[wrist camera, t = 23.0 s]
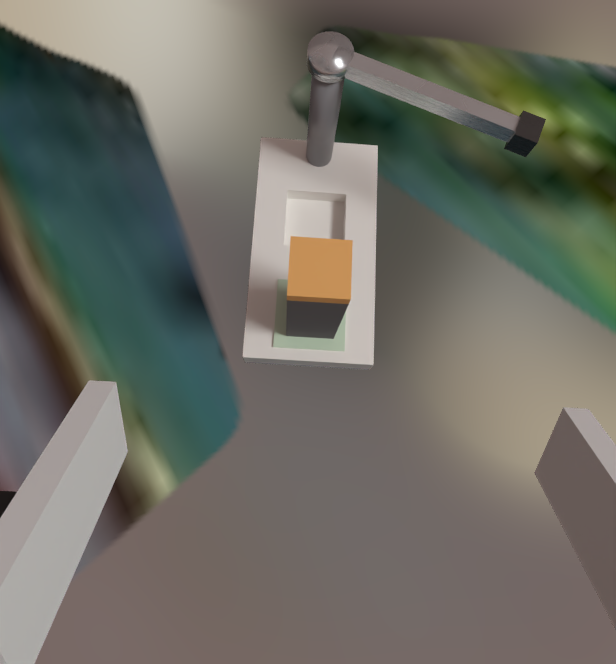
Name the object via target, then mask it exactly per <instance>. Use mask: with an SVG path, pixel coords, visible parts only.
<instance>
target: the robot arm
mask: <svg viewBox="0 0 616 664" xmlns="http://www.w3.org/2000/svg"><path fill="white" fill-rule="evenodd" d="M127 452H128V450H127V444H126V438H125V432H124V426H123V420H122V414H121V409H120V403H119V397H118V391H117V385H116V382H108V381H90V380H89V381H88V383H87V384H86V386H85V387H84V389H83V391H82V392H81V394H80V395H79V397H78V398H77V400H76V401H75V403H74V405H73V406H72V408H71V409H70V411H69V412H68V414H67V415H66V417H65V419H64V420H63V422H62V423H61V425H60V426H59V428H58V429H57V431H56V432H55V434H54V436H53V437H52V439H51V440H50V442H49V443H48V445H47V446H46V448H45V450H44V451H43V453H42V454H41V456H40V457H39V459H38V460H37V462H36V464H35V465H34V467H33V468H32V470H31V471H30V473H29V474H28V476H27V477H26V479H25V481H24V482H23V484H22V485H21V487H20V488H19V490H18V491H17V492H9V491H0V664H34V663H35V661H36V659H37V657H38V654H39V652H40V650H41V647H42V645H43V643H44V641H45V638H46V636H47V634H48V632H49V629H50V627H51V625H52V622H53V620H54V618H55V616H56V613H57V611H58V609H59V607H60V604H61V602H62V600H63V598H64V595H65V593H66V591H67V588H68V586H69V584H70V582H71V579H72V577H73V575H74V573H75V570H76V568H77V566H78V563H79V561H80V559H81V557H82V554H83V552H84V550H85V548H86V545H87V543H88V541H89V538H90V536H91V534H92V532H93V529H94V527H95V525H96V523H97V520H98V518H99V516H100V513H101V511H102V509H103V507H104V504H105V502H106V500H107V498H108V495H109V493H110V491H111V488H112V486H113V484H114V482H115V479H116V477H117V475H118V473H119V470H120V468H121V466H122V463H123V461H124V459H125V457H126V454H127ZM535 475H536V477H537V479H538V481H539V483H540V484H541V487H542V488H543V490H544V492H545V494H546V496H547V498H548V500H549V502H550V504H551V506H552V508H553V510H554V512H555V514H556V515H557V517H558V519H559V521H560V523H561V525H562V527H563V529H564V531H565V533H566V535H567V537H568V539H569V540H570V542H571V544H572V546H573V548H574V550H575V552H576V554H577V556H578V558H579V560H580V562H581V564H582V565H583V568H584V569H585V572H586V574H587V575H588V577H589V579H590V581H591V583H592V585H593V587H594V589H595V591H596V593H597V595H598V597H599V599H600V601H601V602H602V604H603V606H604V608H605V610H606V612H607V614H608V616H609V618H610V620H611V622H612V624H613V626H614V628H615V629H616V445H615V443H614V442H613V441H612V440H611V438H610V437H609V435H608V434H607V433H606V431H605V430H604V429H603V427H602V426H601V425H600V423H599V422H598V421H597V419H596V418H595V417H594V416H593V414H592V413H591V411H590V410H589V409H581V408H563V409H562V412H561V414H560V416H559V418H558V421H557V423H556V425H555V427H554V430H553V432H552V434H551V437H550V439H549V441H548V443H547V446H546V448H545V450H544V452H543V455H542V457H541V459H540V462H539V464H538V466H537V468H536V471H535Z"/></svg>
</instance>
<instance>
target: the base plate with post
mask: <svg viewBox="0 0 616 664" xmlns="http://www.w3.org/2000/svg"><path fill="white" fill-rule="evenodd" d="M343 84H344V79H343V80H342V81H339V82H336V83H325V82H321V81H319V80H317V79H316V78H314V77H313V76H312V81H311V95H310V108H309V122H308V136H307V140H294V139H281V138H267V137H261V145H260V156H259V168H258V181H257V192H256V203H255V216H254V227H253V239H252V250H251V262H250V274H249V285H248V298H247V309H246V321H245V332H244V344H243V356H242V357H243V359H244V362H245V363H246V362H247V363H262V364H279V365H296V366H314V367H330V368H331V367H332V368H348V369H364V370H369V369H370V368H371V367H372V366H373V365H374V363H373V362H374V313H375V312H374V311H375V261H376V260H375V258H376V209H377V208H376V206H377V157H378V146H374V145H361V144H348V143H334V140H335V133H336V127H337V121H338V115H339V109H340V102H341V96H342V90H343ZM291 236H296V237H311V238H326V239H341V240H353V245H352V279H351V300H350V303H349V305H348V307H347V309H346V312H345V314H344V316H343V319H342V321H341V323H340V325H339V328H338V330H337V332H336V334H335V337H334V339H327V338H310V337H293V336H286V318H287V285H288V270H289V254H290V238H291Z"/></svg>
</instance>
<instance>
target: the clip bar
mask: <svg viewBox="0 0 616 664" xmlns="http://www.w3.org/2000/svg"><path fill="white" fill-rule="evenodd" d="M307 67H308V70H309V72H310V74H311V75H312V76H313V77H314V78H316V79H317V80H319V81H321V82H325V83H336V82H339V81H342V80H343V79H345V78H346V79H349V80H351V81H354V82H357V83H359V84H362V85H364V86H367V87H369V88H372V89H374V90H377V91H379V92H382V93H384V94H387V95H389V96H392V97H394V98H397V99H399V100H402V101H404V102H407V103H409V104H412V105H415V106H417V107H420V108H422V109H425V110H427V111H430V112H432V113H435V114H437V115H440V116H442V117H445V118H447V119H450V120H452V121H455V122H457V123H460V124H462V125H465V126H468V127H470V128H473V129H475V130H478V131H480V132H483V133H485V134H488V135H490V136H493V137H495V138H498V139H500V140H503V141H505V142H506V145H505V148H504V149H507V150H509V151H512V152H514V153H517V154H519V155H522V156H524V157H526V156H527V155H528V154H529V153H530V151H531V150H532V149H533V148H534V146H535V145H536V144H537V143H538V140H539V137H540V134H541V131H542V128H543V126H544V123H545V120H546V119H543V118H541V117H538V116H536V115H533V114H531V113H528V112H526V111H523V112H522V113H521V115H520V116H519V117H518V116H516V115H513V114H511V113H508V112H506V111H503V110H501V109H498V108H496V107H493V106H490V105H488V104H485V103H483V102H480V101H478V100H475V99H473V98H470V97H468V96H465V95H462V94H460V93H457V92H455V91H452V90H450V89H447V88H445V87H442V86H440V85H437V84H434V83H432V82H429V81H427V80H424V79H422V78H419V77H417V76H414V75H412V74H409V73H406V72H404V71H401V70H399V69H396V68H394V67H391V66H389V65H386V64H384V63H381V62H379V61H376V60H373V59H371V58H368V57H366V56H363V55H361V54H358V53H356V52H354V48H353V45H352V43H351V42H350V40H349V39H348V38H347V37H345V36H344V35H342V34H340V33H337V32H331V31H328V32H322V33H319V34H317V35H316V36H314V37H313V38H312V39H311V41H310V43H309V45H308V53H307Z"/></svg>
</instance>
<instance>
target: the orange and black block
mask: <svg viewBox="0 0 616 664" xmlns="http://www.w3.org/2000/svg"><path fill="white" fill-rule="evenodd" d="M352 245H353V240H341V239H326V238H311V237H296V236H291V238H290V254H289V270H288V285H287V318H286V336H293V337H310V338H327V339H334V337H335V334H336V332H337V330H338V328H339V325H340V323H341V321H342V319H343V316H344V314H345V312H346V309H347V307H348V305H349V303H350V300H351V279H352Z"/></svg>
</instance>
